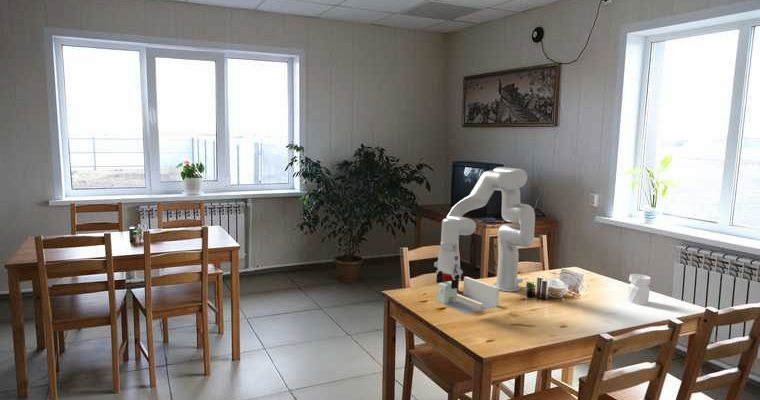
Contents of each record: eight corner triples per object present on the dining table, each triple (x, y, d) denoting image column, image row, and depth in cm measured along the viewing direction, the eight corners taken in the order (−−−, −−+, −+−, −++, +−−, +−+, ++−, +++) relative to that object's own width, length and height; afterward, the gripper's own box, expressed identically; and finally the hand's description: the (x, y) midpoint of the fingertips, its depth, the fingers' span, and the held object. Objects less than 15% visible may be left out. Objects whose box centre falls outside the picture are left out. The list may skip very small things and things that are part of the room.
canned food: (459, 296, 240) (460, 273, 239) (441, 296, 240) (442, 272, 239) (457, 291, 248) (458, 269, 246) (440, 291, 248) (441, 268, 246)
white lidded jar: (646, 306, 234) (648, 280, 233) (625, 302, 240) (627, 276, 238) (649, 301, 241) (652, 276, 240) (629, 297, 247) (631, 272, 245)
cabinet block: (449, 298, 232) (450, 280, 231) (456, 301, 228) (457, 283, 227) (436, 301, 228) (437, 283, 227) (443, 304, 224) (444, 286, 223)
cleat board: (465, 296, 240) (466, 276, 239) (498, 309, 224) (499, 288, 223) (433, 303, 230) (434, 282, 228) (465, 317, 213) (466, 294, 212)
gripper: (469, 250, 220) (467, 289, 222) (442, 242, 234) (440, 279, 236) (456, 251, 216) (453, 291, 218) (429, 243, 230) (427, 281, 232)
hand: (446, 285), depth 227 cm, fingers open, 9 cm apart
